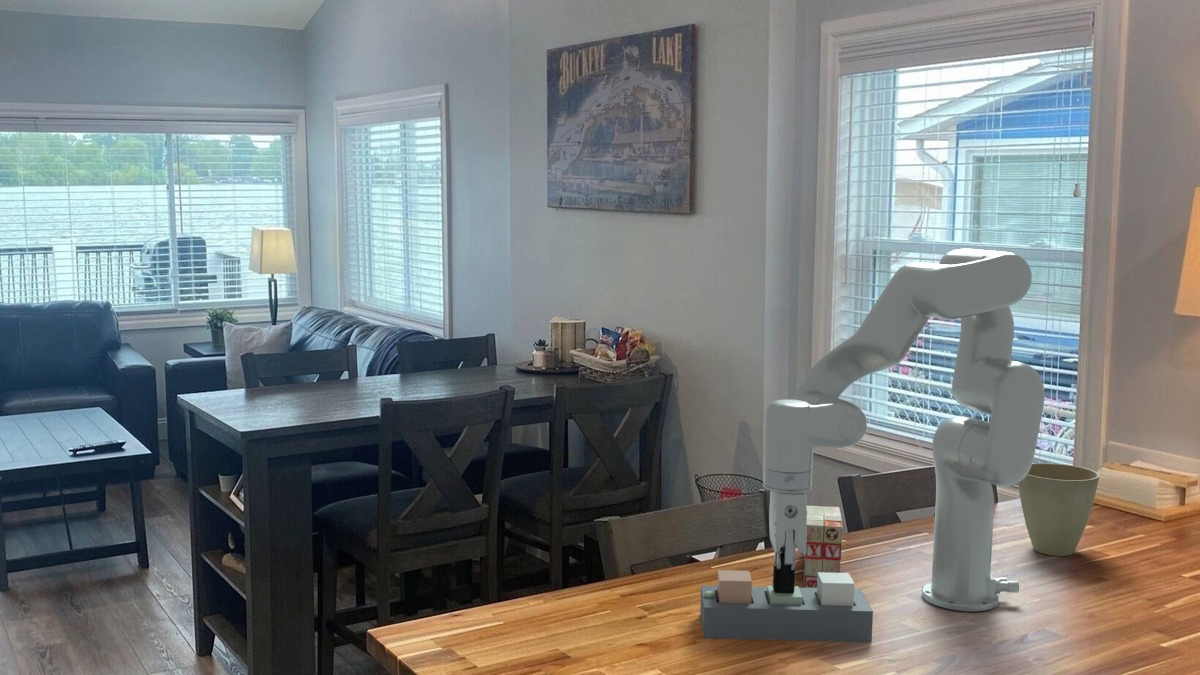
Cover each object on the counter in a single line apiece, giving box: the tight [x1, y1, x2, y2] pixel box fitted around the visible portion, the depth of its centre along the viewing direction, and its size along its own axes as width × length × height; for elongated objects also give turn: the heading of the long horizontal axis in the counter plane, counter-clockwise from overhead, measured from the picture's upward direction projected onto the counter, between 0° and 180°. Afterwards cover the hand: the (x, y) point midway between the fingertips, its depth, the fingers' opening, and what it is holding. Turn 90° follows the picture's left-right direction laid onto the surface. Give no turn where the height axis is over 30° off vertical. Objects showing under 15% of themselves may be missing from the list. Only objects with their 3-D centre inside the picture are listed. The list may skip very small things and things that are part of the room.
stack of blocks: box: [803, 505, 843, 588], centre depth 210 cm, size 21×6×12 cm, turn 170°
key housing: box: [699, 585, 874, 643], centre depth 183 cm, size 26×10×6 cm, turn 88°
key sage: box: [766, 585, 803, 605], centre depth 183 cm, size 5×5×5 cm
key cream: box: [817, 572, 855, 606], centre depth 182 cm, size 5×5×5 cm
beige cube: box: [716, 569, 753, 604], centre depth 183 cm, size 5×5×5 cm
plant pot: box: [1017, 462, 1100, 557], centre depth 224 cm, size 15×15×16 cm
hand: (783, 591), depth 183 cm, fingers closed
